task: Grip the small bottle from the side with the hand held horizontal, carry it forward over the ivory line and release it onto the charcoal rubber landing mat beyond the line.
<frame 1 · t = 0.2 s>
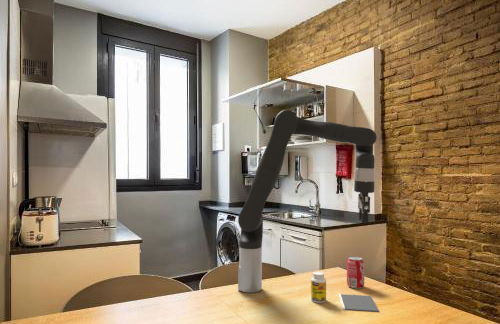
hand: (363, 221, 132), 29 cm above the table, tool pointing down, fingers open, 8 cm apart
supplement bottle: (318, 301, 126), on the table
soda can: (355, 287, 141), on the table
landing mat: (357, 302, 124), on the table
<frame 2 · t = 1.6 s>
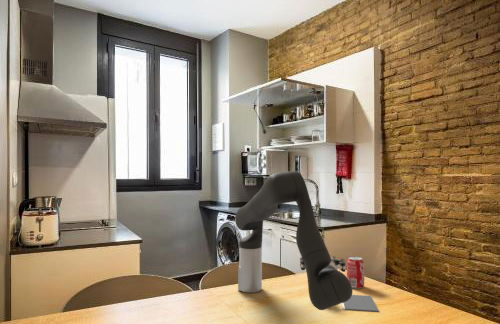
hand: (320, 258, 116), 18 cm above the table, tool horizontal, fingers open, 8 cm apart
nothing on the table moved.
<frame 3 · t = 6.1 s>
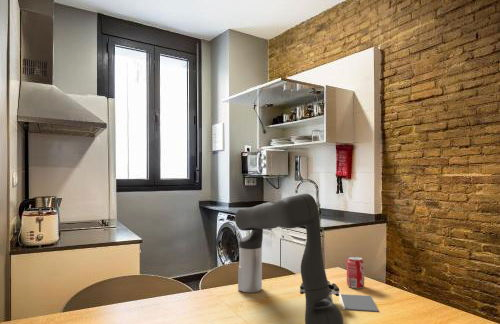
hand: (318, 282, 129), 6 cm above the table, tool horizontal, fingers closed on supplement bottle, 5 cm apart
supplement bottle: (318, 301, 126), on the table, touching gripper
everything else where it was.
when the fingers open (8 cm above the table, at t = 10.8 s): supplement bottle drops 1 cm, resting on landing mat.
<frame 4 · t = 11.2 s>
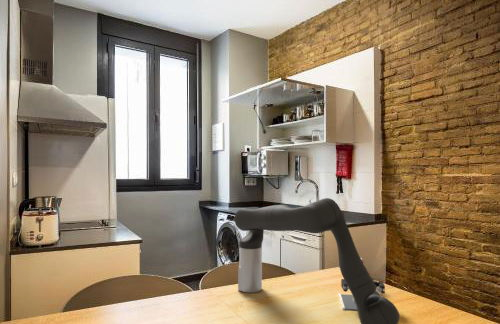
hand: (359, 279, 126), 8 cm above the table, tool horizontal, fingers open, 8 cm apart
supplement bottle: (360, 302, 124), resting on landing mat
everything else where it was.
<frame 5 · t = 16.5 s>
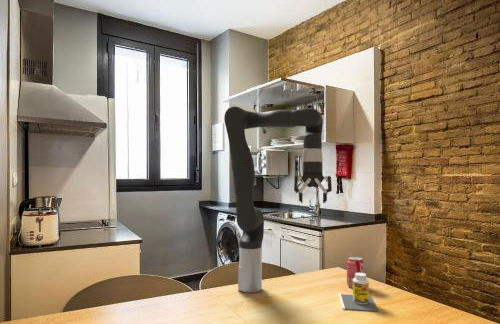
hand: (312, 202, 130), 36 cm above the table, tool pointing down, fingers open, 8 cm apart
nothing on the table moved.
at the end: supplement bottle inside the target area (2.5 cm from its centre), resting on landing mat; supplement bottle moved 15.1 cm from its start; the gripper is holding nothing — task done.
